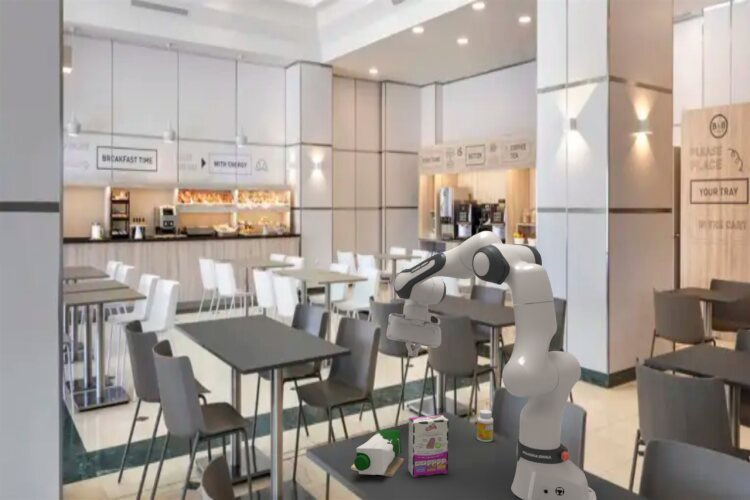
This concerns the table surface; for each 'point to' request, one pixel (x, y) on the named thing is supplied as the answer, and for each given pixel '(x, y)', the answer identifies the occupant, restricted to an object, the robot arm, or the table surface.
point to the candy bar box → (428, 445)
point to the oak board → (390, 469)
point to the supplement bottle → (485, 426)
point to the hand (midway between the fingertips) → (412, 356)
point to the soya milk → (378, 452)
